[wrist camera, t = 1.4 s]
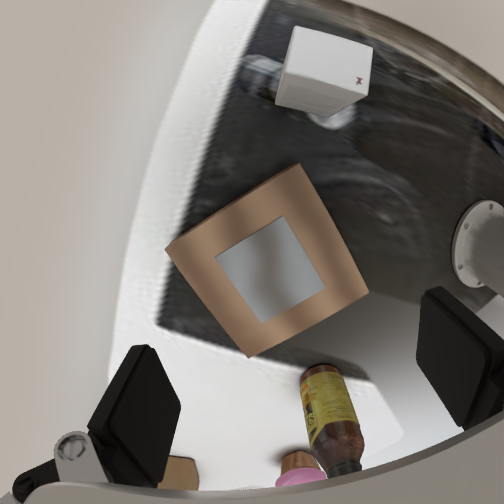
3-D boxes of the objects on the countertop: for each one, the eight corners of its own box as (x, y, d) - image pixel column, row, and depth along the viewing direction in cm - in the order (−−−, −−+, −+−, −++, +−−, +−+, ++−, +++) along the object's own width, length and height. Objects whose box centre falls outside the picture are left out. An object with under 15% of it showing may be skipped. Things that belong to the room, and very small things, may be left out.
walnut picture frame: (295, 163, 30) (299, 163, 27) (360, 281, 34) (369, 293, 31) (171, 241, 33) (163, 250, 30) (248, 344, 37) (248, 359, 34)
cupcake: (265, 458, 45) (266, 501, 36) (299, 438, 43) (306, 484, 34) (297, 470, 47) (301, 510, 37) (331, 452, 45) (339, 493, 35)
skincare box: (335, 83, 27) (376, 47, 16) (328, 118, 29) (369, 97, 17) (280, 69, 27) (294, 23, 16) (272, 105, 28) (283, 73, 17)
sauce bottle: (293, 370, 38) (312, 497, 19) (336, 356, 37) (379, 478, 19) (304, 399, 40) (324, 515, 21) (344, 386, 39) (381, 498, 20)
